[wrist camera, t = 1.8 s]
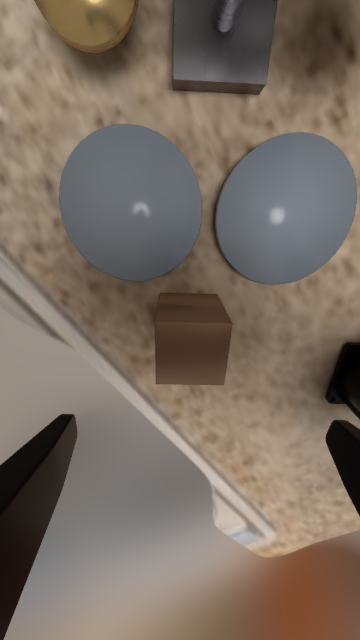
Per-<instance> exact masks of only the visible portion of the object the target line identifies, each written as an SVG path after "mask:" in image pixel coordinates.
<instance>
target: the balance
mask: <svg viewBox="0 0 360 640" xmlns="http://www.w3.org/2000/svg"><path fill="white" fill-rule="evenodd" d="M34 1H35V3H36V5H37V6H38V8H39V10H40V11H41V13H42V14H43V16H44V17H45V19H46V20H47V22H48V23H49V25H50V26H51V28H52V29H53V30H54V31H55V32H56V34H57V35H58V36H59V37H60V38H61V39H63V40H64V41H65V42H66V43H68V44H69V45H70V46H72V47H74V48H76V49H78V50H81V51H84V52H89V53H99V52H103V51H106V50H109V49H111V48H113V47H114V46H116V45H117V44H118V43H119V42H120V41H121V40H122V39H123V38H124V37H125V35H126V34H127V32H128V31H129V29H130V27H131V25H132V23H133V21H134V18H135V15H136V11H137V7H138V1H139V0H34ZM277 1H278V0H174V54H173V90H185V91H204V92H222V93H241V94H260V92H261V91H262V89H263V88H264V87H265V85H266V81H267V74H268V66H269V59H270V52H271V45H272V37H273V30H274V23H275V15H276V8H277Z"/></svg>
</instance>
